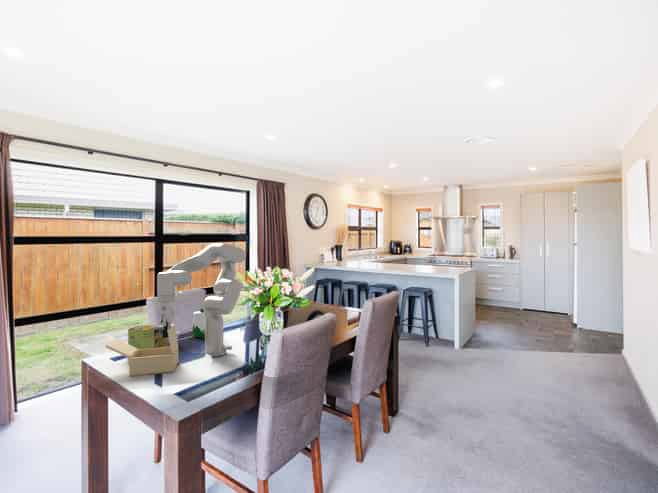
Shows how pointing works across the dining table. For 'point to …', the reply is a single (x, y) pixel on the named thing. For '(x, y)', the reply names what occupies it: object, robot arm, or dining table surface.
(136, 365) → the carton
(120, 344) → the flap
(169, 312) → the robot arm
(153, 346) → the protein box
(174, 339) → the flap
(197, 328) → the milk carton
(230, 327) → the dining table surface
